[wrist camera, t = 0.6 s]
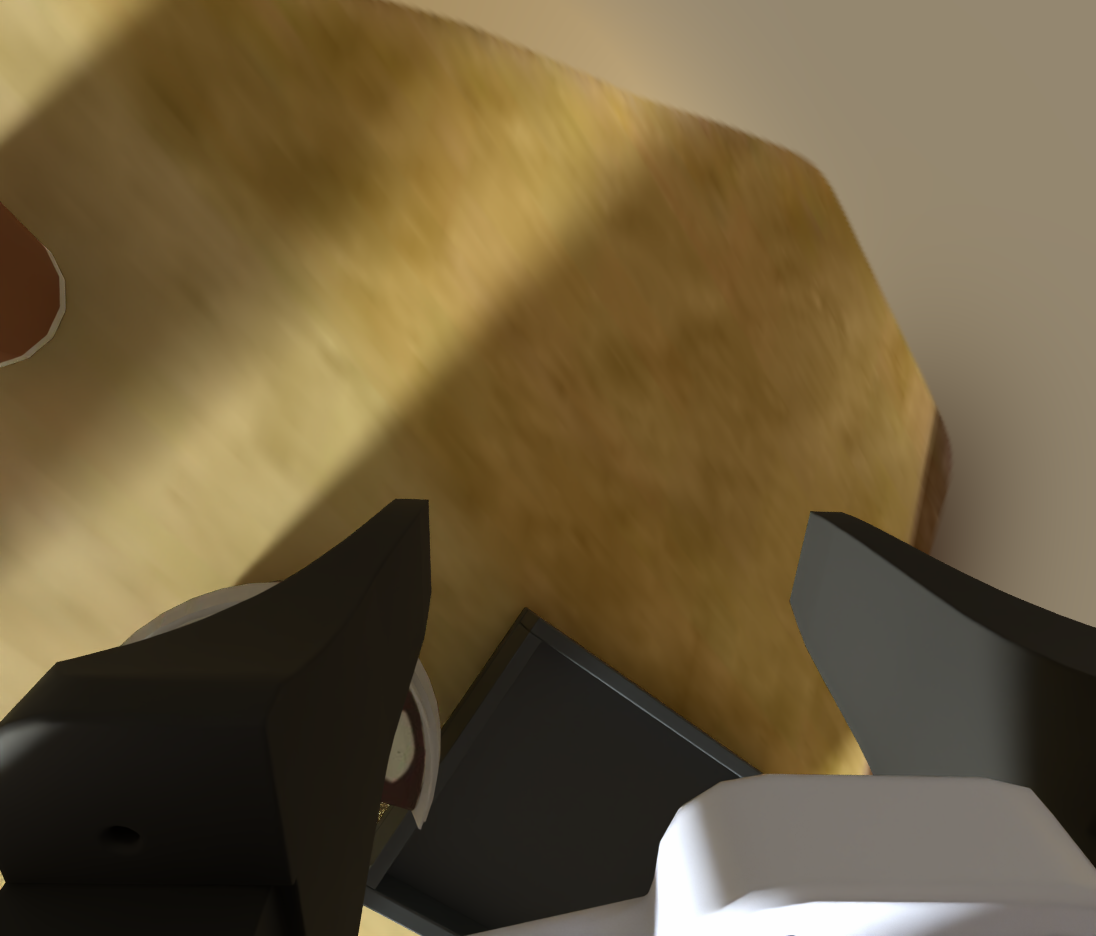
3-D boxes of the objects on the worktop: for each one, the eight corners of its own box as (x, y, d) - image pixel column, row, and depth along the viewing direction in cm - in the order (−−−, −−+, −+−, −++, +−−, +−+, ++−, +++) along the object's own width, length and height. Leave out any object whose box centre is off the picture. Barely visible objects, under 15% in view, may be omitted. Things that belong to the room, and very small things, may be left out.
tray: (623, 1014, 37) (644, 1054, 34) (347, 865, 32) (348, 898, 30) (764, 774, 39) (793, 795, 37) (525, 606, 35) (539, 617, 32)
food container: (457, 607, 34) (505, 664, 24) (407, 727, 33) (435, 833, 24) (205, 512, 30) (144, 534, 21) (142, 643, 30) (50, 728, 20)
